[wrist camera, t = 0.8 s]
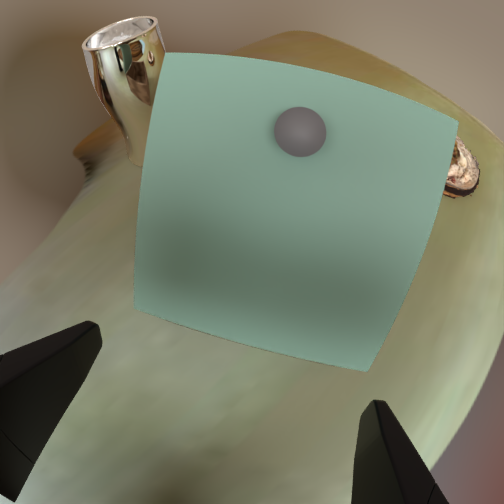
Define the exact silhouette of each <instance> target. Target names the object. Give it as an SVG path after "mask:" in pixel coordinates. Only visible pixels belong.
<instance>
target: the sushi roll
mask: <svg viewBox="0 0 504 504" xmlns="http://www.w3.org/2000/svg"><path fill="white" fill-rule="evenodd" d="M456 137H457V138H458V139H459V140H460V141H459V140H458V139H457V138H456V140H455V145H454V150H453V155H452V159H451V163H450V168H449V172H448V176H447V180H446V184H445V187H444V191H443V194H444V195H445V196H448V197H451V198H456V197H458V196H463V197H464V196H467V195H469V194H470V193H473V192H474V190H475V189H476V187H478V186H477V185H478V184H479V175H480V169H479V168H478V165H479V163H478V161H477V159H476V157H475V156H474V158H475V159H476V161H475V160H474V158H473V155H471V154H470V152H471V150H470V152H469V151H468V150H467V148H464V147H465V145H464V143H463V141H462V140H461V139H460V138H459V137H458V136H457V135H456ZM477 189H478V188H477ZM470 196H472V195H470Z"/></svg>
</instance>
